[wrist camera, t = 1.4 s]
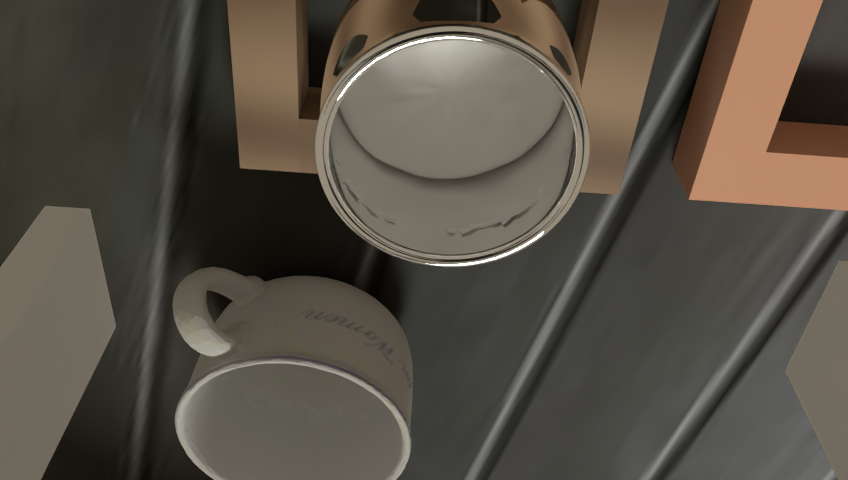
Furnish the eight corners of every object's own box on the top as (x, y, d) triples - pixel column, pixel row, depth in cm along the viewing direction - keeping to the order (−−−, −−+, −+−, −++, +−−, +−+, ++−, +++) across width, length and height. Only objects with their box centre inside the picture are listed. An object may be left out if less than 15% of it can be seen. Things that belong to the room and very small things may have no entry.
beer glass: (342, -114, 29) (272, 39, 17) (530, -143, 28) (598, -4, 16) (375, 61, 33) (338, 287, 21) (540, 40, 32) (601, 260, 20)
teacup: (440, 373, 44) (441, 494, 37) (264, 412, 46) (235, 533, 40) (351, 168, 36) (332, 276, 30) (144, 226, 38) (85, 338, 32)
